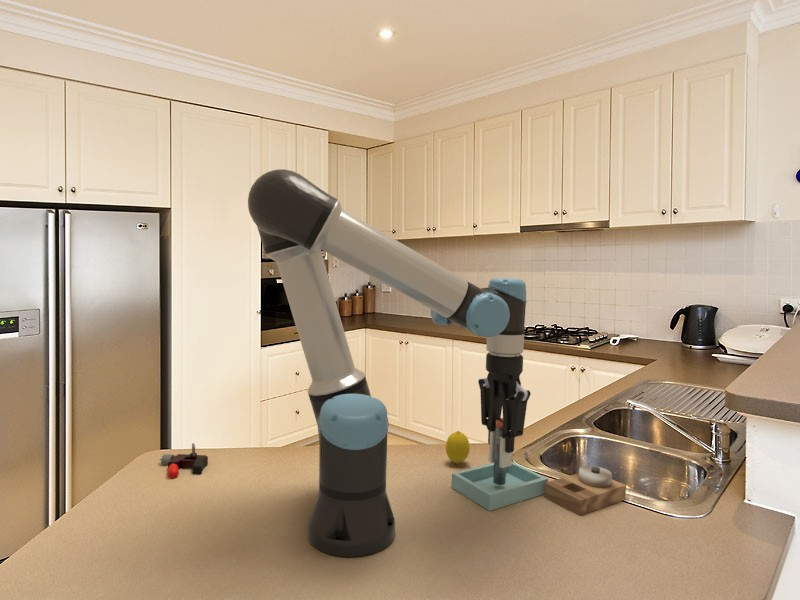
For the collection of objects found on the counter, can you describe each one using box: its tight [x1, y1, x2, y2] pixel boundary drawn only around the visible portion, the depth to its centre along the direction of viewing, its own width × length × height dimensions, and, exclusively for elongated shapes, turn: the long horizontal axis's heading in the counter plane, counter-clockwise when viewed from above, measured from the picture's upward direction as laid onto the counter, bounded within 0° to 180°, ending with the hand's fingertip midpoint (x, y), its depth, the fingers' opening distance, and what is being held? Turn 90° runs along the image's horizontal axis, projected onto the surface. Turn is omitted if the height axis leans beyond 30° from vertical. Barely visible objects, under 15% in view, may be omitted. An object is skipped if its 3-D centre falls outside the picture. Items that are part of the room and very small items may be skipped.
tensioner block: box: [543, 465, 627, 516], centre depth 110 cm, size 14×9×6 cm, turn 122°
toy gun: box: [159, 443, 209, 479], centre depth 119 cm, size 10×12×5 cm
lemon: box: [445, 430, 470, 465], centre depth 126 cm, size 6×6×8 cm
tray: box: [451, 461, 549, 511], centre depth 113 cm, size 16×12×3 cm
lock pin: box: [493, 417, 506, 485], centre depth 112 cm, size 3×3×14 cm
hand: (500, 463), depth 112 cm, fingers closed on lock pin, 2 cm apart
